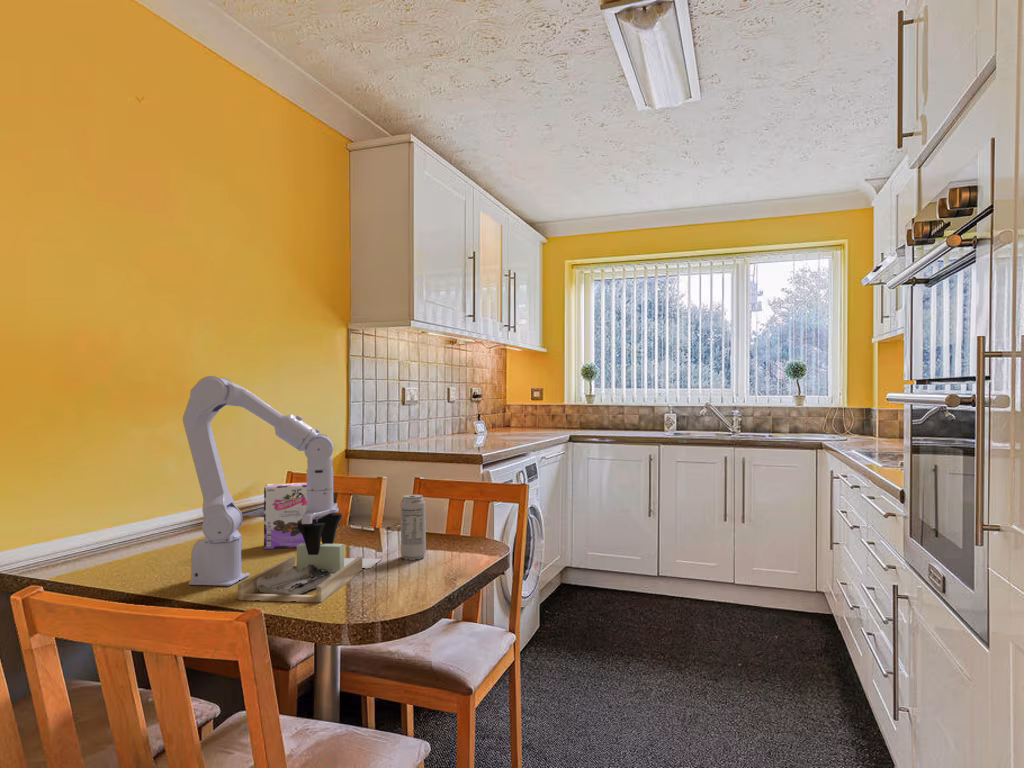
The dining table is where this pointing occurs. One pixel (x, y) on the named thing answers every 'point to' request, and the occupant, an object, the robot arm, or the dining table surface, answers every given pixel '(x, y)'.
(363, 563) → the light gray panel
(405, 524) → the energy drink can
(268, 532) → the candy box
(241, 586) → the birch rack
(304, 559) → the pale green block
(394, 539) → the dining table surface
